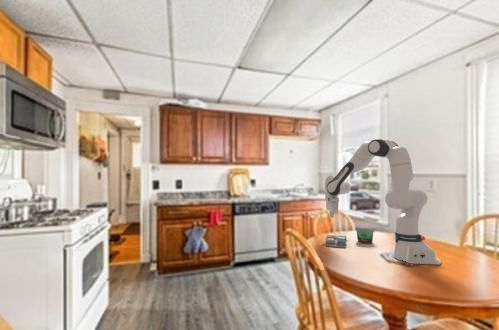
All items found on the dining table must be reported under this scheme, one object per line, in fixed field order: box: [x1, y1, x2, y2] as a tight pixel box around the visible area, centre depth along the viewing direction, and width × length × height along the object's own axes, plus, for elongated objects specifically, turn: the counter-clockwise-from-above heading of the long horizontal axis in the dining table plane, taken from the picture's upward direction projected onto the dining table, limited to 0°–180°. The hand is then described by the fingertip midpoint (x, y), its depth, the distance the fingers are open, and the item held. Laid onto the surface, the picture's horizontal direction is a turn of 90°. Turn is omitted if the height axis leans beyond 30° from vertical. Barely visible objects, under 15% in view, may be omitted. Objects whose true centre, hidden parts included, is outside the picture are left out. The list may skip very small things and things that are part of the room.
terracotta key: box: [326, 237, 334, 242], centre depth 182 cm, size 4×4×3 cm
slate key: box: [338, 237, 345, 243], centre depth 179 cm, size 4×4×3 cm
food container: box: [355, 227, 375, 245], centre depth 185 cm, size 12×6×10 cm, turn 73°
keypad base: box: [325, 234, 348, 249], centre depth 187 cm, size 13×28×2 cm, turn 160°
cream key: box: [327, 233, 336, 237], centre depth 195 cm, size 4×4×3 cm
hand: (331, 217), depth 195 cm, fingers closed
